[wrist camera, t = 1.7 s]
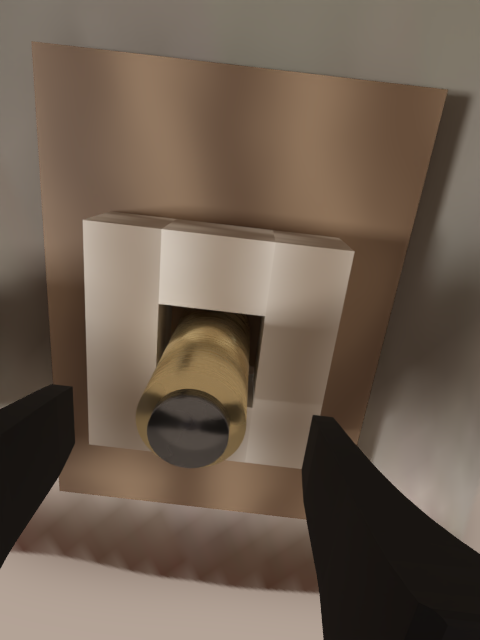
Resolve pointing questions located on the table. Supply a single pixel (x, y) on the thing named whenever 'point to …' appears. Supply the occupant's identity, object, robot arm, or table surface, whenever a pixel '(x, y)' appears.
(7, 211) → the table surface
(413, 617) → the robot arm
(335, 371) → the wall socket panel
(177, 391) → the plug
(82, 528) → the table surface
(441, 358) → the table surface
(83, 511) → the table surface
